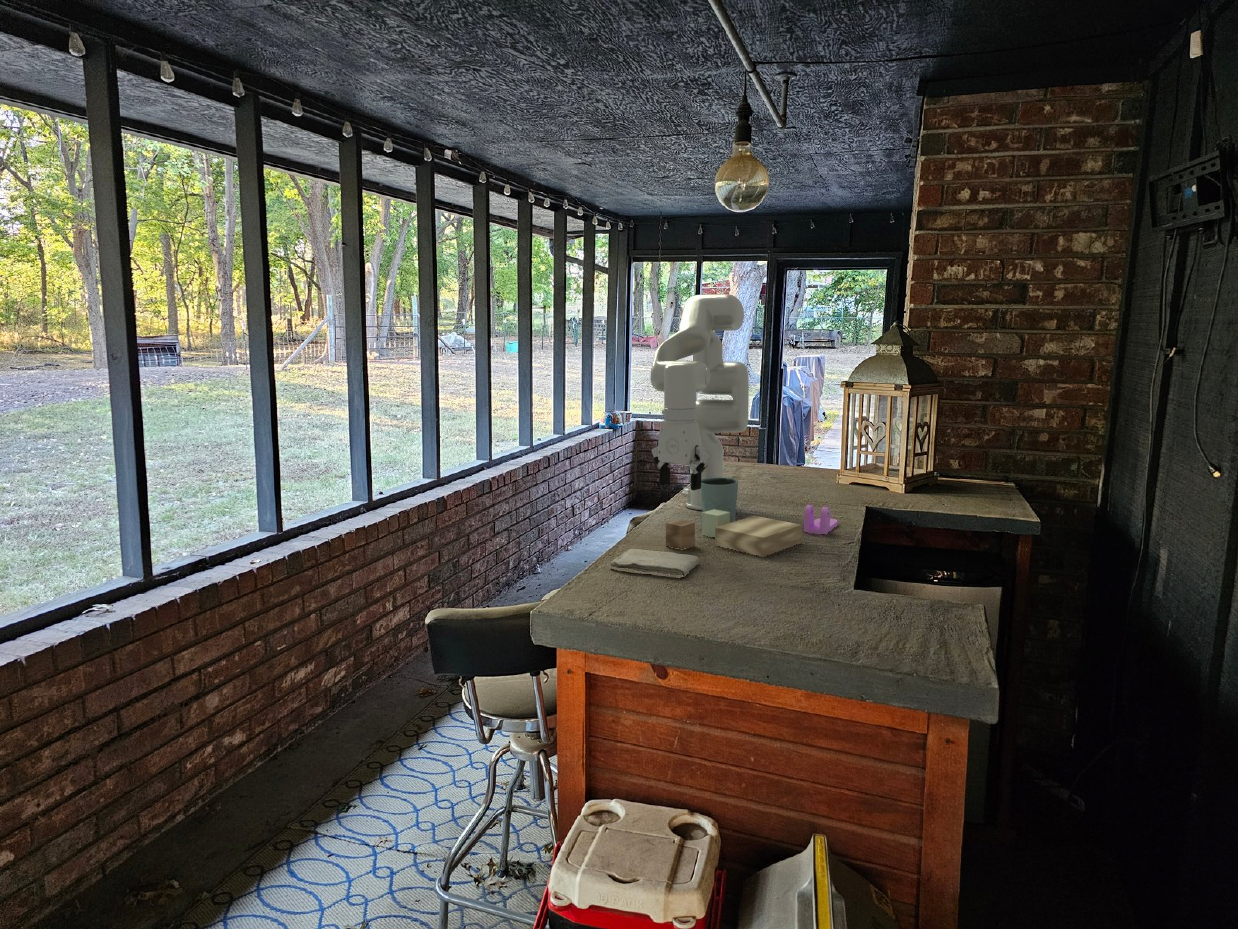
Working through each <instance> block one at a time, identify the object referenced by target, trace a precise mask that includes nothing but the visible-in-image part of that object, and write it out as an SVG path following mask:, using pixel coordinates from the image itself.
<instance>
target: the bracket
mask: <svg viewBox="0 0 1238 929" xmlns="http://www.w3.org/2000/svg"><path fill="white" fill-rule="evenodd" d="M819 516H820V517H819V518H816V519H815V507H814V505H812V504H806V505H805V508H804V512H803V518H804V519H803V533H805V532H808V533H807V534H813V533H814V534H813V535H820V534H826V535H827V534H829V533H830V532H831V531H833V530H834V529H835V528H836V527H838V520H837V519H836V518H831V508H830V507H829V506H822V507H821V510H820V515H819ZM834 527H835V528H834ZM833 528H834V529H833ZM832 529H833V530H832ZM829 531H830V532H829ZM828 532H829V533H828Z"/></svg>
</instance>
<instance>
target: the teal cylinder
mask: <svg viewBox="0 0 1238 929" xmlns="http://www.w3.org/2000/svg"><path fill="white" fill-rule="evenodd" d="M738 489H739V480H737V479H736V478H731V477H725V476H723V477H714V478H706V479H702V480H701V499H702V510H701V511H702V512H701V514H702V513H703V512H706V511H710V510H713V509H716V510H721V511H726V512H730V523H732V522H735V521H736V515H737V502H738V501H737V499H738V491H739V490H738Z"/></svg>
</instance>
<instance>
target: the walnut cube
mask: <svg viewBox="0 0 1238 929" xmlns="http://www.w3.org/2000/svg"><path fill="white" fill-rule="evenodd" d="M694 545H695V546H696V522H695V521H690V520H685V519H681V518H678V519H675V520H672V521H668V522H665V547H666V546H670V547H673V548H679V549H684V548H688V549H690V548H689V547H691V548H693V547H692V546H694ZM695 546H694V547H695ZM673 548H672V549H673Z"/></svg>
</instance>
